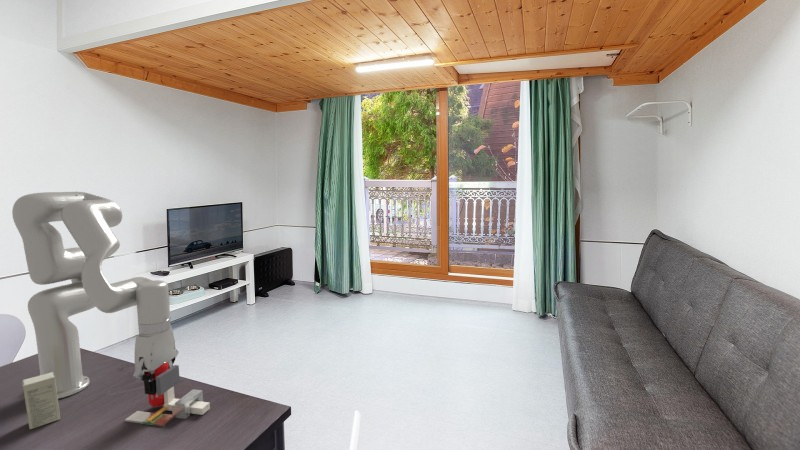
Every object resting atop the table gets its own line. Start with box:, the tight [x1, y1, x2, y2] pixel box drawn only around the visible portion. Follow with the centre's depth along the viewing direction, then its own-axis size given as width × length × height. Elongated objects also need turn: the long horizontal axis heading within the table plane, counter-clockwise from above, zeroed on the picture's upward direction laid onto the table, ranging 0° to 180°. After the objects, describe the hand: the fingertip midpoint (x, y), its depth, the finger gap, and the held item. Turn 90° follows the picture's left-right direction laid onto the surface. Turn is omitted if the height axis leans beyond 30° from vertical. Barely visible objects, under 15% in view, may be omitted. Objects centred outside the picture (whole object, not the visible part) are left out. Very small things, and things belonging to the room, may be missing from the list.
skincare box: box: [22, 372, 61, 430], centre depth 104 cm, size 6×4×12 cm
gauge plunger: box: [146, 364, 211, 422], centre depth 107 cm, size 12×11×11 cm
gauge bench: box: [124, 389, 204, 427], centre depth 108 cm, size 15×11×4 cm
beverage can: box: [147, 361, 169, 408], centre depth 110 cm, size 5×5×12 cm
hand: (159, 387), depth 110 cm, fingers closed on beverage can, 5 cm apart
